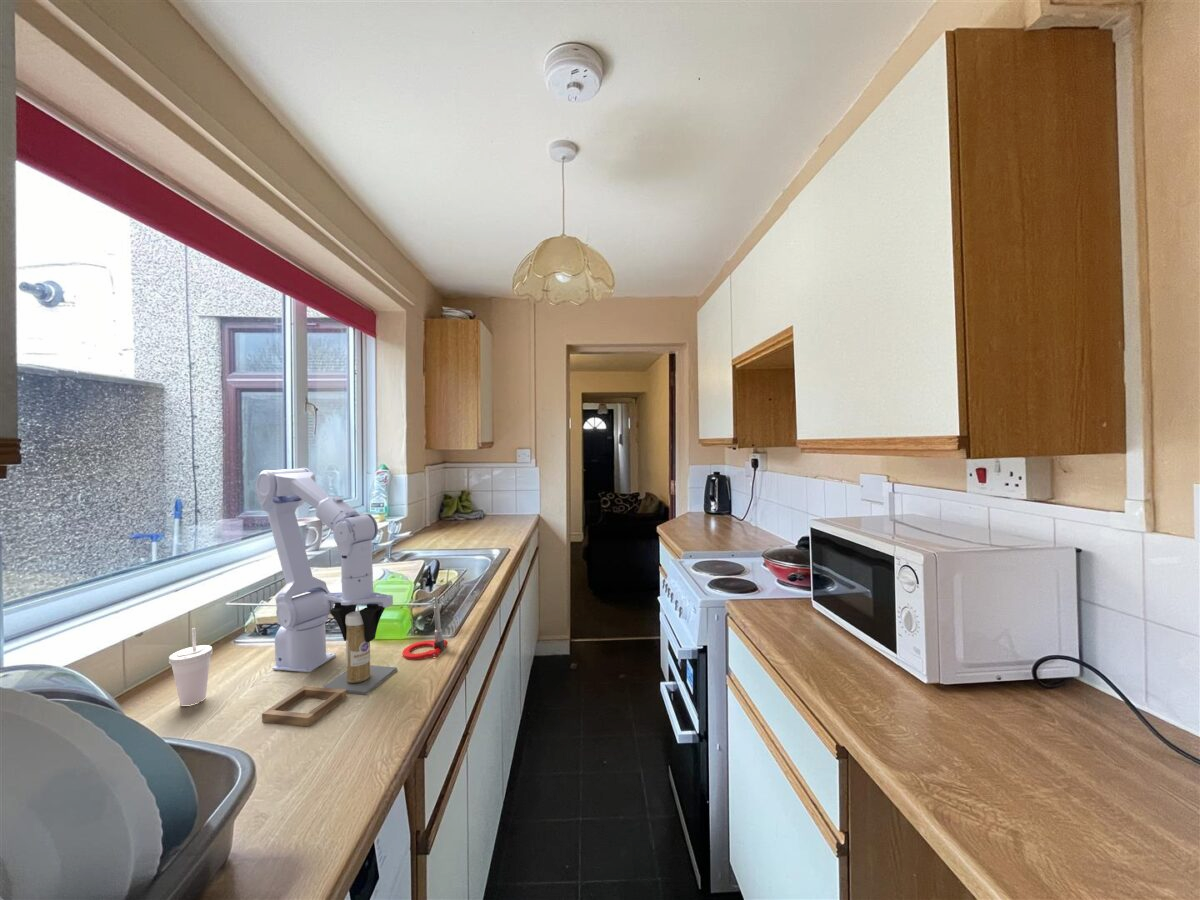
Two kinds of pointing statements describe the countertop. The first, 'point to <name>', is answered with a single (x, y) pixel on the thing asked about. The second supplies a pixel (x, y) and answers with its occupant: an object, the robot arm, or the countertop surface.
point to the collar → (304, 719)
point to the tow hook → (437, 644)
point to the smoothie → (191, 671)
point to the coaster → (365, 686)
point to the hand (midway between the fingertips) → (359, 639)
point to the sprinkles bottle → (356, 649)
